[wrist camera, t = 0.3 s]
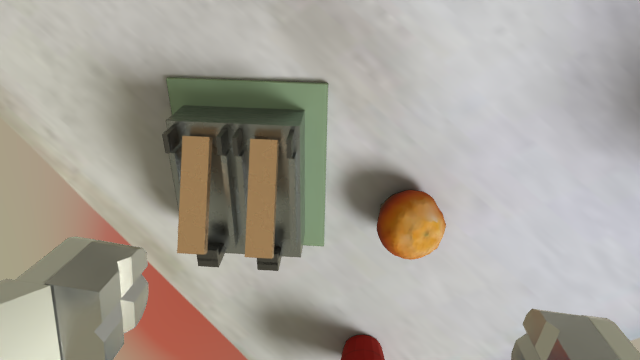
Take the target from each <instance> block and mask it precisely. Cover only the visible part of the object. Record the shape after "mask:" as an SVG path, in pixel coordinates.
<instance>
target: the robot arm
mask: <svg viewBox="0 0 640 360" xmlns="http://www.w3.org/2000/svg"><path fill="white" fill-rule="evenodd" d="M147 266H148V264H147V252H146V251H145V250H144V249H143V248H140V247H134V246H129V245H123V244H117V243H112V242H105V241H100V240H94V239H88V238H81V237H70V238H67V239H66V240H65V241H64V242H62V243H61V244H60V245H58V246H57V247H56V248H54V249H53V250H52V251H51V252H50V253H48V254H47V255H46V256H44V257H43V258H42V259H41V260H39V261H38V262H37V263H36V264H35V265H33V266H32V267H31V268H30V269H28V270H27V271H26V272H24V273H23V274H22V275H21V276H19V277H18V278H17V279H15V280H12V279H5V280H2V281H0V360H113V359H114V357H115V356H116V354H117V353H118V351H119V350H120V349H121V347H122V346H123V344H124V335H123V333H125V332H127V331H129V330H131V329H133V328H135V327H136V325H137V324H138V322H139V320H140V319H141V317H142V315H143V312H144V310H145V307H146V304H147V299H148V282H147V281H146V280H145V278H144V277H143V276H142V274H141V273H142V272H143V271H144V270H145V268H146V267H147ZM523 326H524V328H525V330H526V334H525V335H523V336H522V337H521V338H519V339H518V340H516V342H515V345H514V348H513V351H512V355H511V360H640V353H639V351H638V350H637V349H636V348H635V347H634V346H633V344H632V343H631V342H630V341H629V339H628V338H627V337H626V336H625V335H624V333H623V332H622V331H621V330H620V329H619V327H618V326H617V325H616V324H615V323H614V322H612V321H611V320H609V319H607V318H601V317H593V316H584V315H581V316H580V315H573V314H566V313H559V312H552V311H545V310H538V309H531V310H530V311H529V312H528V314H527V315H526V317H525V320H524V322H523Z"/></svg>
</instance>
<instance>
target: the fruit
mask: <svg viewBox="0 0 640 360" xmlns="http://www.w3.org/2000/svg"><path fill="white" fill-rule="evenodd" d="M445 227H446V223H445V221H444V217H443V214H442V212H441V211H440V210H439V208H438V206H437V205H436V203H435V201H434V199H433V198H432V197H431V196H430V195H428V194H427V193H425V192H422V191H415V190H406V191H403V192H400V193H397V194H394V195H392V196H391V197H389V198H388V199H387V200H386V201H385V203H383V204H381V208H380V213H379V217H378V222H377V232H378V236H379V238H380V240H381V242H382V244H383V245H384V247H385V248H386V249H387V250H388V251H389V252H391V253H392V254H394V255H395V256H399V257H401V258H404V259H416V258H421V257H423V256H425V255H428V254H430V253H431V252H432V251H433V250H435V249H437V247H438V245H439V243H440V241H441V239H442V237H443V234H444V231H445Z"/></svg>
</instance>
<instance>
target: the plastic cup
mask: <svg viewBox="0 0 640 360" xmlns="http://www.w3.org/2000/svg"><path fill="white" fill-rule="evenodd" d="M341 360H385V359H384V355H383V351H382V347H381V346H380V343H379V342H378V341H377V340H376V339H375V338H373V337H371V336H368V335H356V336H353V337H351V338H349V339H348V340H347V341H346V343H345V346H344V348H343V352H342V357H341Z"/></svg>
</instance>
